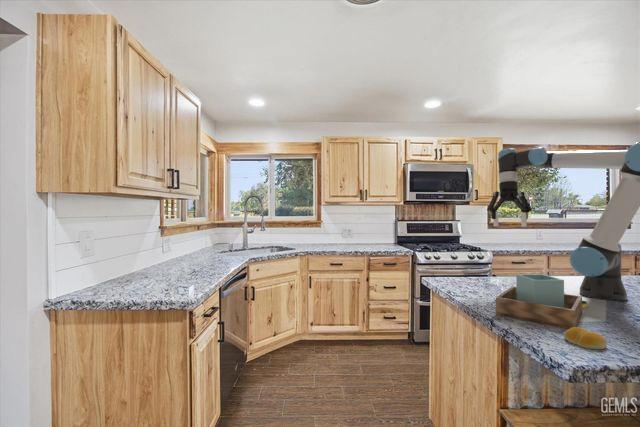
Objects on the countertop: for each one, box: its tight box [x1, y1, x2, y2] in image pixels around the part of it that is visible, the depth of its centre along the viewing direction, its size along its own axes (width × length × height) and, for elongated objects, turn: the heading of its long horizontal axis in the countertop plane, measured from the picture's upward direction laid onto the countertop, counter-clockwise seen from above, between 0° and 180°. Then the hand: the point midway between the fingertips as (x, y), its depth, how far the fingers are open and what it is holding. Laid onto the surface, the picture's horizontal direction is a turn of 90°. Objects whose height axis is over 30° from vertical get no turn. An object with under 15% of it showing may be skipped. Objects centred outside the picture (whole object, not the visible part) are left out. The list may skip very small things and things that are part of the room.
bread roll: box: [563, 326, 607, 350], centre depth 89 cm, size 8×9×4 cm
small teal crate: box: [516, 273, 565, 308], centre depth 114 cm, size 10×10×12 cm
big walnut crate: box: [495, 286, 583, 330], centre depth 114 cm, size 22×22×6 cm
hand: (510, 226), depth 152 cm, fingers open, 13 cm apart
